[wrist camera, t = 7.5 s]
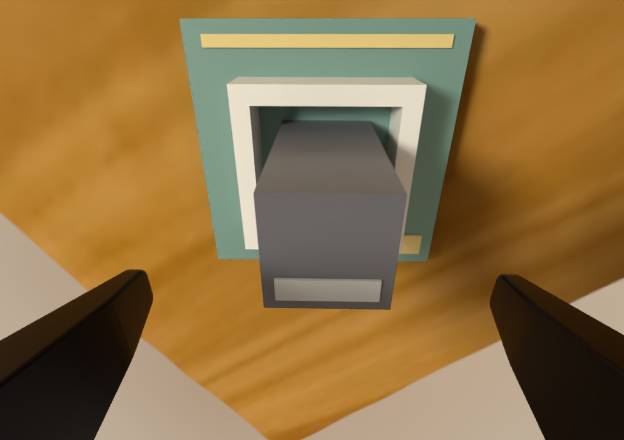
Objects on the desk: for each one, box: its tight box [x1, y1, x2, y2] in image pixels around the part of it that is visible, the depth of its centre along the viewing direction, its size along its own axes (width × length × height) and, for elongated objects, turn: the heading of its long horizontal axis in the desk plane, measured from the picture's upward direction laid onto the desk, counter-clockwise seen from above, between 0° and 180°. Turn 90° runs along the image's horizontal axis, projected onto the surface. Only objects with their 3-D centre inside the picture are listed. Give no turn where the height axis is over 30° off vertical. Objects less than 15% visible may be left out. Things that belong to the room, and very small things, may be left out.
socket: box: [227, 77, 427, 251], centre depth 16 cm, size 8×8×2 cm
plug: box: [253, 120, 407, 310], centre depth 14 cm, size 4×4×8 cm
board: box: [179, 19, 476, 262], centre depth 17 cm, size 12×12×1 cm
